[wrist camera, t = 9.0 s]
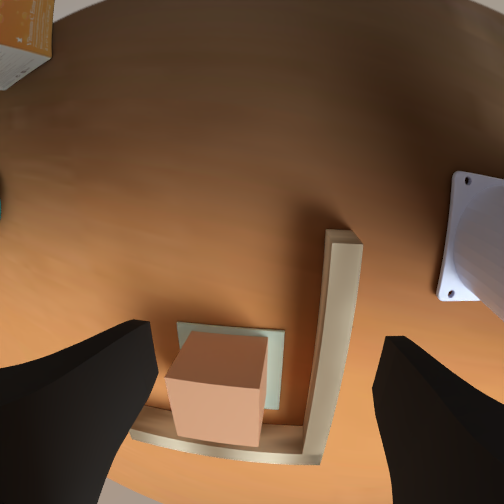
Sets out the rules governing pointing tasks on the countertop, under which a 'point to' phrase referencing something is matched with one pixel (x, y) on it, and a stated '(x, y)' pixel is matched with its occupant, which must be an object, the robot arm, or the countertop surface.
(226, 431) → the cube
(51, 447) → the robot arm
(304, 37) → the countertop surface
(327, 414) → the l-shaped wall
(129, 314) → the countertop surface
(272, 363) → the pad
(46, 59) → the small box
